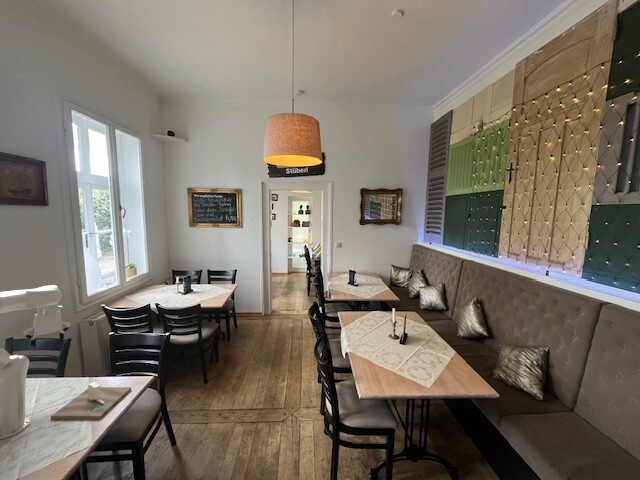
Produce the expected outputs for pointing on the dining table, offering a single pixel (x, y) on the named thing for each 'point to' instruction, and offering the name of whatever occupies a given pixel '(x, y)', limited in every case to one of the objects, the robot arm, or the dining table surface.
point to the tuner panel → (92, 404)
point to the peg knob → (94, 392)
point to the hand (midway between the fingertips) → (47, 343)
